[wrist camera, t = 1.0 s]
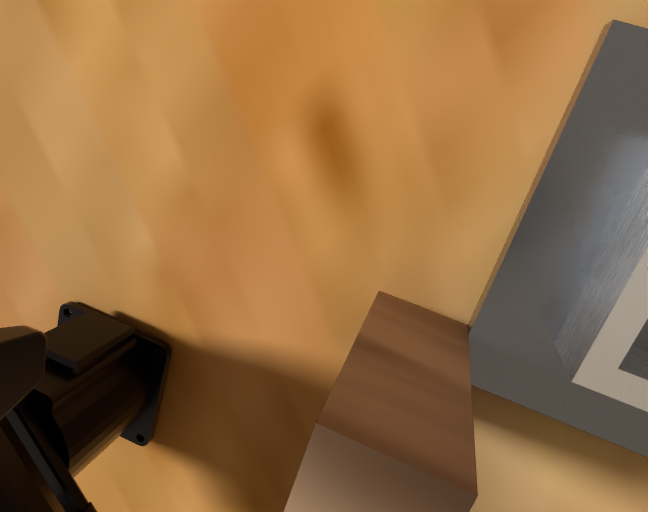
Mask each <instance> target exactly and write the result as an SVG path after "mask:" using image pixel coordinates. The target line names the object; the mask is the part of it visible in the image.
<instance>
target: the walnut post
mask: <svg viewBox="0 0 648 512" xmlns="http://www.w3.org/2000/svg"><path fill="white" fill-rule="evenodd" d="M477 496H478V493H477V476H476V459H475V442H474V425H473V408H472V391H471V374H470V357H469V340H468V325H465V324H463V323H460V322H458V321H455V320H452V319H450V318H447V317H445V316H442V315H440V314H437V313H434V312H432V311H429V310H427V309H424V308H422V307H419V306H417V305H414V304H411V303H409V302H406V301H404V300H401V299H399V298H396V297H393V296H391V295H388V294H386V293H383V292H381V291H379V292H378V294H377V296H376V298H375V300H374V302H373V304H372V306H371V308H370V311H369V313H368V315H367V317H366V319H365V321H364V323H363V325H362V327H361V329H360V332H359V334H358V336H357V338H356V340H355V342H354V344H353V346H352V348H351V350H350V352H349V355H348V357H347V359H346V361H345V363H344V365H343V367H342V369H341V371H340V373H339V376H338V378H337V380H336V382H335V384H334V386H333V388H332V390H331V392H330V394H329V397H328V399H327V401H326V403H325V405H324V407H323V409H322V411H321V413H320V415H319V417H318V420H317V422H316V424H315V427H314V429H313V432H312V435H311V438H310V441H309V443H308V446H307V449H306V452H305V454H304V457H303V460H302V463H301V465H300V468H299V471H298V474H297V476H296V479H295V482H294V485H293V487H292V490H291V493H290V496H289V499H288V501H287V504H286V507H285V510H284V512H469V511H470V509H471V507H472V506H473V504H474V502H475V500H476V498H477Z"/></svg>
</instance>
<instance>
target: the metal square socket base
mask: <svg viewBox="0 0 648 512" xmlns="http://www.w3.org/2000/svg"><path fill="white" fill-rule="evenodd" d="M468 340H469V357H470V374H471V385H473V386H475V387H478V388H480V389H483V390H485V391H488V392H490V393H492V394H495V395H497V396H500V397H502V398H505V399H507V400H509V401H512V402H514V403H517V404H519V405H522V406H524V407H527V408H529V409H531V410H534V411H536V412H539V413H541V414H544V415H546V416H548V417H551V418H553V419H556V420H558V421H561V422H563V423H566V424H568V425H570V426H573V427H575V428H578V429H580V430H583V431H585V432H587V433H590V434H592V435H595V436H597V437H600V438H602V439H605V440H607V441H609V442H612V443H614V444H617V445H619V446H622V447H624V448H626V449H629V450H631V451H634V452H636V453H639V454H641V455H644V456H646V457H648V29H647V28H643V27H639V26H636V25H632V24H628V23H624V22H621V21H617V20H612V21H611V22H609V23H608V24H606V25H605V26H604V28H603V30H602V32H601V34H600V37H599V39H598V41H597V43H596V45H595V48H594V50H593V52H592V54H591V56H590V59H589V61H588V63H587V65H586V67H585V70H584V72H583V74H582V76H581V78H580V81H579V83H578V85H577V87H576V89H575V92H574V94H573V96H572V98H571V100H570V102H569V105H568V107H567V109H566V111H565V113H564V116H563V118H562V120H561V122H560V124H559V127H558V129H557V131H556V133H555V135H554V138H553V140H552V142H551V144H550V146H549V149H548V151H547V153H546V155H545V157H544V160H543V162H542V164H541V166H540V168H539V171H538V173H537V175H536V177H535V179H534V182H533V184H532V186H531V188H530V190H529V193H528V195H527V197H526V199H525V201H524V204H523V206H522V208H521V210H520V212H519V215H518V217H517V219H516V221H515V223H514V226H513V228H512V230H511V232H510V234H509V236H508V239H507V241H506V243H505V245H504V247H503V250H502V252H501V254H500V256H499V258H498V261H497V263H496V265H495V267H494V269H493V272H492V274H491V276H490V278H489V280H488V283H487V285H486V287H485V289H484V291H483V294H482V296H481V298H480V300H479V302H478V305H477V307H476V309H475V311H474V313H473V316H472V318H471V320H470V322H469V324H468Z"/></svg>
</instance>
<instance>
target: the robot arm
mask: <svg viewBox="0 0 648 512" xmlns="http://www.w3.org/2000/svg"><path fill="white" fill-rule="evenodd" d="M69 310H70V311H71V313H72V314H71V313H70V311H69ZM159 350H161V351H162V353H163V355H162V354H161V353H160V352H159ZM170 357H171V348H170V346H169V345H168V344H167V343H165V342H163V341H161V340H159V339H157V338H154V337H152V336H150V335H148V334H145V333H143V332H141V331H139V330H136V329H134V328H132V327H131V326H129V325H126V324H124V323H122V322H120V321H117V320H115V319H113V318H111V317H108V316H106V315H104V314H102V313H99V312H97V311H95V310H91V309H89V308H87V307H84V306H82V305H80V304H78V303H75V302H72V301H71V302H67V303H65V304H63V305H62V306H61V307H60V310H59V318H58V326H57V327H56V328H54V329H52V330H50V331H48V332H45V333H43V332H41V331H39V330H36V329H34V328H31V327H28V326H13V327H5V328H0V512H97V511H96V509H95V508H94V506H93V504H92V503H91V502H88V501H87V499H86V498H85V496H84V494H83V493H82V491H81V489H80V488H79V486H78V485H77V483H76V481H75V480H74V477H75V476H76V475H77V474H78V473H79V472H80V471H81V470H83V469H84V468H85V467H86V466H87V465H88V464H89V463H90V462H91V461H92V460H94V459H95V458H96V457H97V456H98V455H99V454H100V453H101V452H102V451H103V450H104V449H106V448H107V447H108V446H109V445H110V444H111V443H112V442H113V441H114V440H115V439H117V438H118V437H119V436H121V437H123V438H125V439H127V440H129V441H131V442H133V443H135V444H137V445H140V446H145V445H147V444H148V443H149V442H150V441H151V440H152V438H153V434H154V429H155V425H156V420H157V416H158V411H159V407H160V402H161V398H162V393H163V389H164V384H165V380H166V375H167V371H168V366H169V362H170Z"/></svg>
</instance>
